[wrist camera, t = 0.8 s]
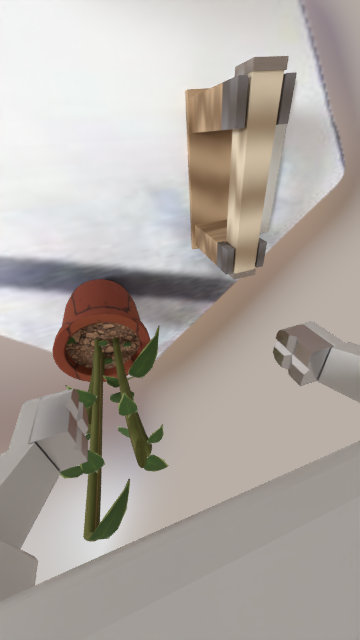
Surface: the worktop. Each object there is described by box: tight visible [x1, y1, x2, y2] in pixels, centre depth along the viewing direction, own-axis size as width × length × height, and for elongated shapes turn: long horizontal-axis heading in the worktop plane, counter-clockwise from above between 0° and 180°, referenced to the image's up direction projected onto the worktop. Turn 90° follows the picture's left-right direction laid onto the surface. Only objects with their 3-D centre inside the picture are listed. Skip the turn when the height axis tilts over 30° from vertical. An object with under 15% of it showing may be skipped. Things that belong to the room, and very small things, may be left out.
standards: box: [185, 73, 296, 274], centre depth 32 cm, size 21×7×13 cm, turn 4°
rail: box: [226, 56, 289, 279], centre depth 28 cm, size 22×3×3 cm, turn 4°
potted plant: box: [53, 279, 168, 541], centre depth 31 cm, size 17×16×35 cm
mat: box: [260, 124, 287, 233], centre depth 38 cm, size 21×8×1 cm, turn 4°
